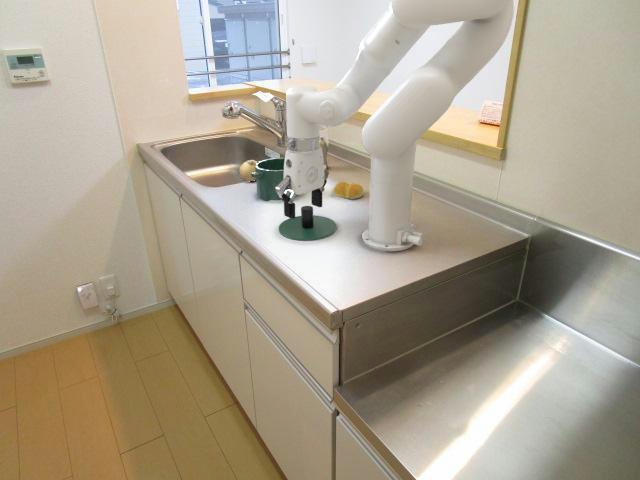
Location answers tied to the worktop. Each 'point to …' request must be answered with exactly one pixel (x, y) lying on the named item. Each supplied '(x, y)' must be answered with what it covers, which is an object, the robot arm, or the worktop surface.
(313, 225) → the lid
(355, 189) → the bread roll
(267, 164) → the pot
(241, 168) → the onion
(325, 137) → the pepper mill
